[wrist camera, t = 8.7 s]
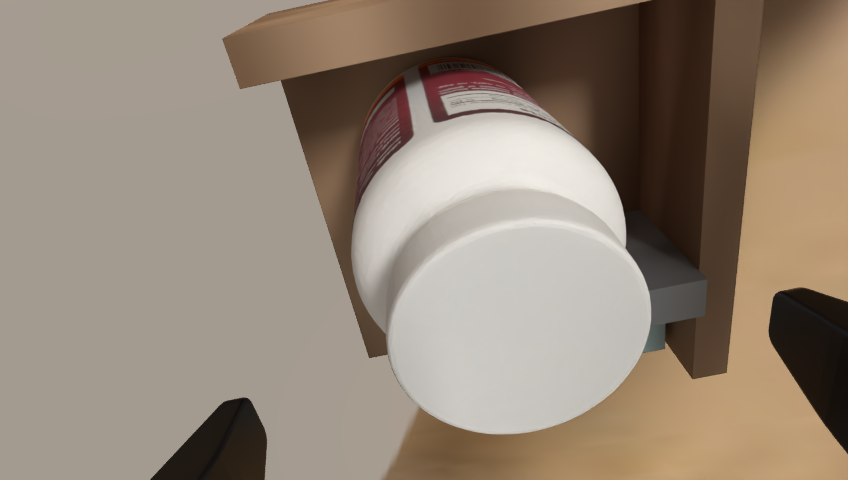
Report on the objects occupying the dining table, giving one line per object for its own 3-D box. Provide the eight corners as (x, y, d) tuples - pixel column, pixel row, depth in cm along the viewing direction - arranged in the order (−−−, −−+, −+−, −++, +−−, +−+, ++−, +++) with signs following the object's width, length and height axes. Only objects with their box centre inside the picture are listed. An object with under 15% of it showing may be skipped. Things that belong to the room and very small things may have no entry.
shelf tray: (660, -74, 17) (786, -84, 12) (655, 284, 24) (734, 382, 19) (268, 13, 18) (216, 41, 12) (369, 340, 24) (365, 452, 19)
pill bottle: (417, 250, 21) (445, 506, 11) (325, 115, 18) (258, 297, 9) (563, 172, 20) (735, 382, 10) (488, 15, 17) (624, 95, 7)
